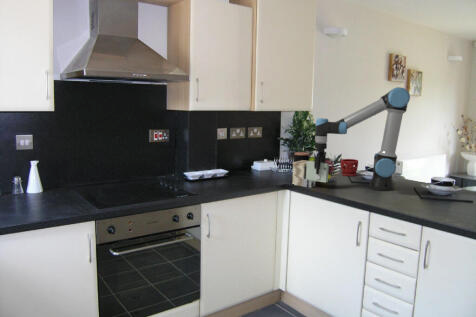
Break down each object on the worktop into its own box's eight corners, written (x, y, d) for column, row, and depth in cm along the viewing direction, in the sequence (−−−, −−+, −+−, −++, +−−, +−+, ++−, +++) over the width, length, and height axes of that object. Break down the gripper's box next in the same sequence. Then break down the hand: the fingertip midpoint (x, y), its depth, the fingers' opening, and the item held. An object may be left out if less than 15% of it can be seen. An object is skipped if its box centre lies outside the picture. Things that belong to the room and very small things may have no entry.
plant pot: (346, 173, 312) (347, 158, 310) (360, 175, 302) (361, 160, 300) (336, 174, 304) (337, 159, 302) (350, 177, 294) (351, 161, 292)
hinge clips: (315, 186, 260) (315, 177, 259) (310, 187, 255) (311, 178, 254) (306, 184, 263) (307, 176, 262) (302, 186, 258) (302, 177, 258)
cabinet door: (327, 181, 252) (328, 163, 250) (325, 182, 249) (326, 164, 247) (308, 178, 260) (308, 161, 259) (305, 179, 257) (306, 161, 256)
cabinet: (313, 183, 270) (314, 161, 268) (303, 186, 258) (304, 163, 256) (302, 181, 275) (302, 160, 273) (291, 184, 264) (292, 162, 261)
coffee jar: (309, 179, 284) (310, 154, 282) (294, 178, 284) (295, 154, 282) (307, 176, 295) (308, 152, 292) (292, 175, 295) (293, 152, 292)
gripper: (320, 141, 259) (319, 176, 263) (309, 143, 246) (308, 179, 250) (331, 142, 255) (329, 177, 258) (320, 143, 242) (318, 181, 245)
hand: (319, 178), depth 254 cm, fingers closed on cabinet door, 3 cm apart
